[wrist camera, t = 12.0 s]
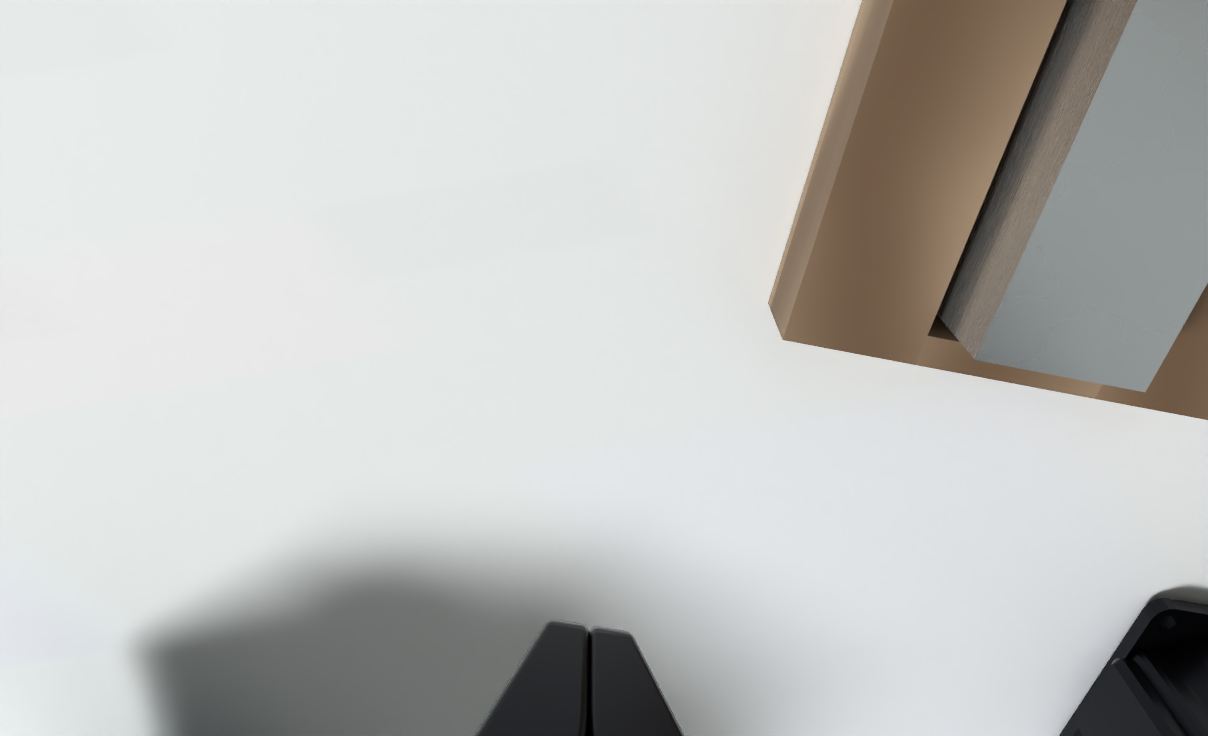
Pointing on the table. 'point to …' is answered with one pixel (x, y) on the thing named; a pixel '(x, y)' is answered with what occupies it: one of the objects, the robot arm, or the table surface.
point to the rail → (1096, 202)
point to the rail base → (929, 194)
